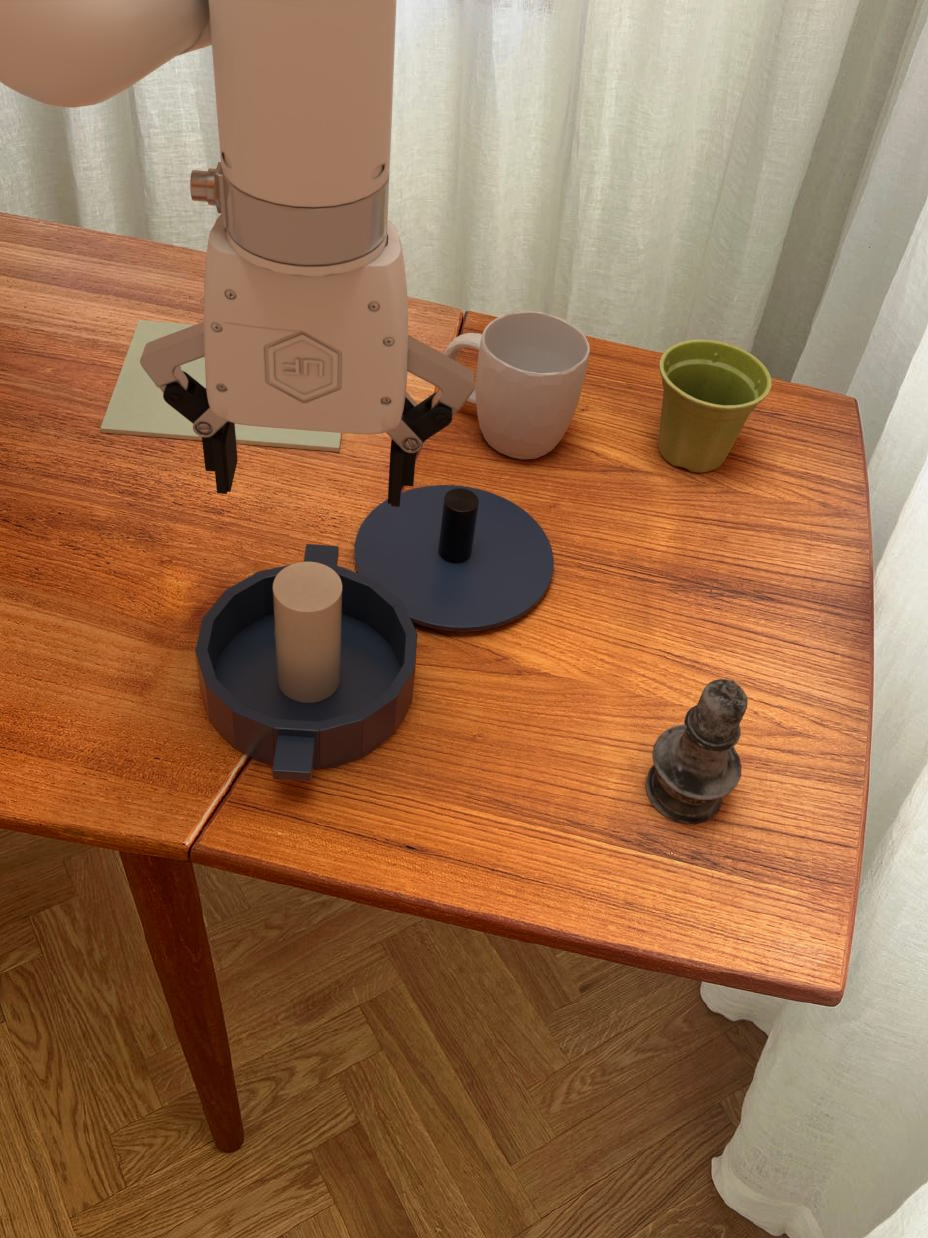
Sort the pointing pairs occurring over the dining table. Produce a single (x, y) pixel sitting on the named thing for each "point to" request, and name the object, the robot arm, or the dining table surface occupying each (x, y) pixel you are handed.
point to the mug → (526, 380)
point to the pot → (294, 731)
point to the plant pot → (707, 401)
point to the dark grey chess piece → (699, 756)
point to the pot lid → (456, 557)
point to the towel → (149, 415)
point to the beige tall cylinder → (308, 631)
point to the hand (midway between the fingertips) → (311, 484)
